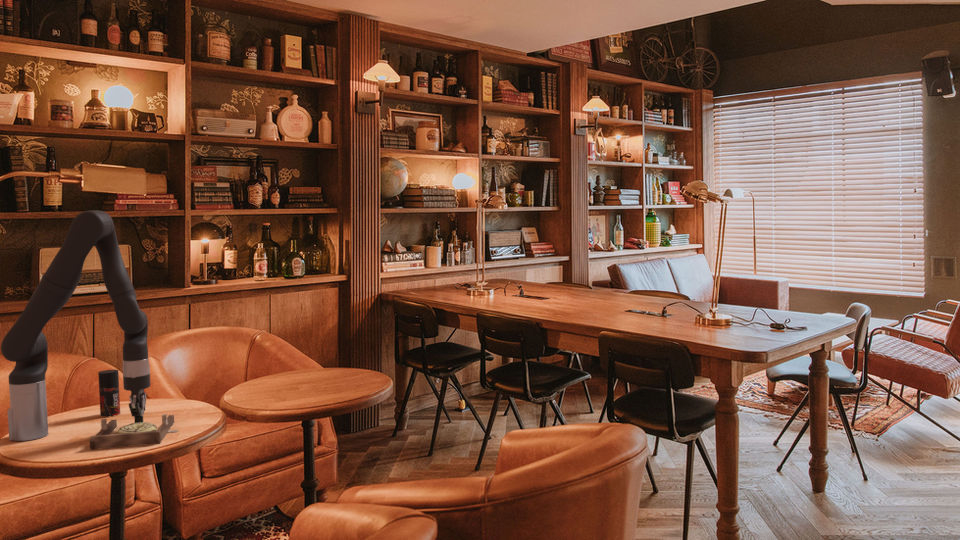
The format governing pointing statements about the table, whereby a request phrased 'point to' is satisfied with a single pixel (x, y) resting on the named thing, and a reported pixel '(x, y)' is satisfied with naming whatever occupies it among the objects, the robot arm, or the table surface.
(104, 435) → the u-shaped frame
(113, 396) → the deodorant
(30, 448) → the table surface
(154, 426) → the decorated donut
